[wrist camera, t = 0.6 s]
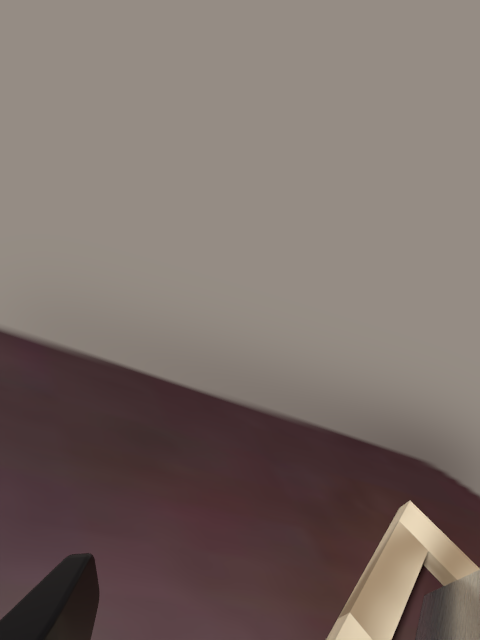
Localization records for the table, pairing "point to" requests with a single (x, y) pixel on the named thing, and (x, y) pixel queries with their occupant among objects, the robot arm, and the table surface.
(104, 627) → the table surface
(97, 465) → the table surface
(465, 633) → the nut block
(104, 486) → the table surface
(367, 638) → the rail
